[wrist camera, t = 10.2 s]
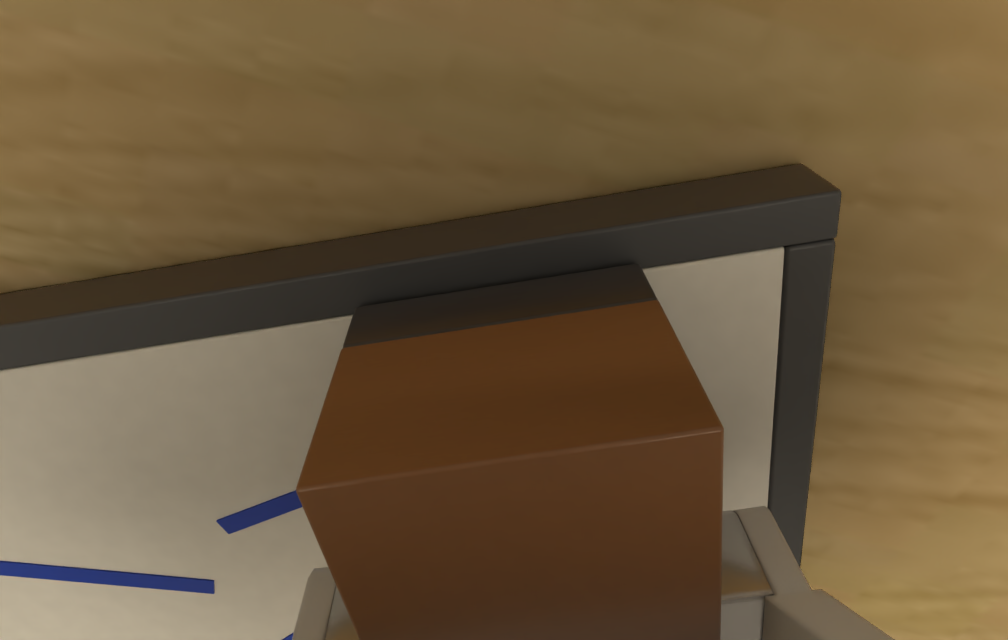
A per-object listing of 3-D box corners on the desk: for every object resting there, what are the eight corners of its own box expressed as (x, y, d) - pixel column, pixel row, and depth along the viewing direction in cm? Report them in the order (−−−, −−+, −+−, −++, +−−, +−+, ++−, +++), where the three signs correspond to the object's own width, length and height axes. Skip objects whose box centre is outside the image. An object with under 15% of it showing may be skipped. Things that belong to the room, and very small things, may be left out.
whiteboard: (-522, 378, 12) (-636, 429, 11) (803, 162, 11) (844, 190, 10) (-89, 749, 19) (-129, 808, 17) (766, 635, 18) (789, 689, 16)
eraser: (354, 305, 10) (292, 489, 7) (639, 261, 10) (725, 427, 7) (460, 652, 15) (456, 868, 11) (660, 625, 15) (718, 838, 11)
